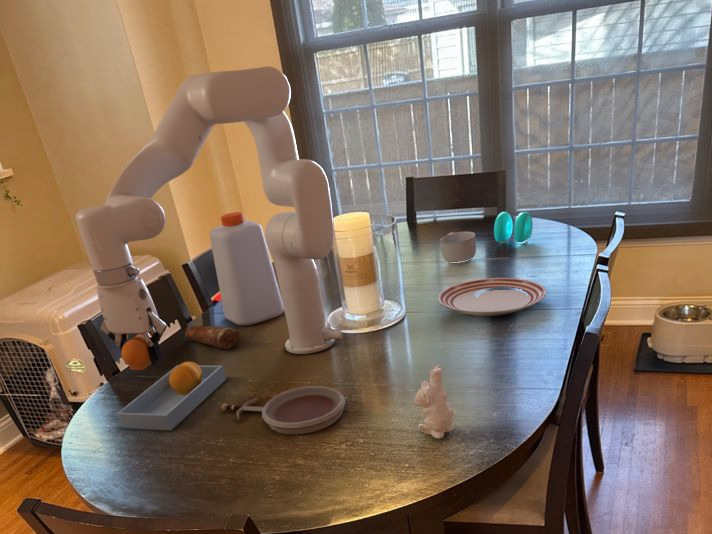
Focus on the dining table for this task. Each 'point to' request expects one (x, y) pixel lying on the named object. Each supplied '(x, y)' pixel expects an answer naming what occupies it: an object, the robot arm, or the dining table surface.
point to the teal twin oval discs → (505, 227)
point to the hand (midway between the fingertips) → (144, 361)
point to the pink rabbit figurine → (434, 406)
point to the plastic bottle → (244, 271)
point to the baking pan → (168, 402)
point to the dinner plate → (491, 296)
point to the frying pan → (299, 409)
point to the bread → (213, 336)
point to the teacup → (458, 247)
